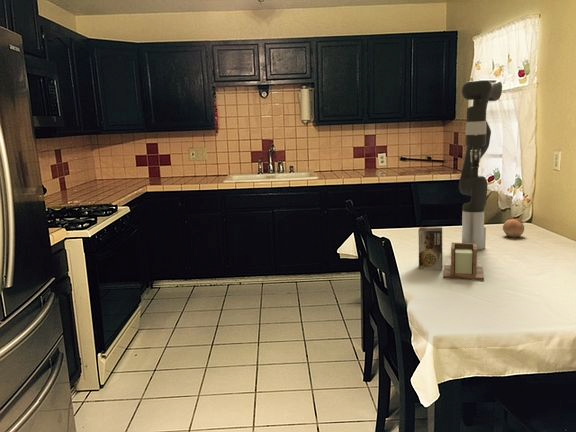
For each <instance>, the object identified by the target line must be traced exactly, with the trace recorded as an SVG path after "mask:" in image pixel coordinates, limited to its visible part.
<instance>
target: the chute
mask: <svg viewBox="0 0 576 432" xmlns="http://www.w3.org/2000/svg"><path fill="white" fill-rule="evenodd" d="M455 249H472V274H462V273H455ZM477 260H478V250H477V245H476V243H462V242H451V244H450V265H444V267H443V268H444V269H443V279H448V280H465V281H467V280H468V281H485V275H484V269H483V266H478V265H477V263H478V261H477Z"/></svg>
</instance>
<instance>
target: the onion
mask: <svg viewBox="0 0 576 432" xmlns="http://www.w3.org/2000/svg"><path fill="white" fill-rule="evenodd" d="M502 225H503V226H502V230H503V232H504V234H505V235H506V236H507V238H518V237H521V236H522V235H523V234H524V231H525V225H524V222H523V221H522V220H521V219H520V218H512V219H511V218H510V219H507V220H506V221H505V222H504V223H503V224H502Z"/></svg>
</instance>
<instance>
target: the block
mask: <svg viewBox="0 0 576 432" xmlns="http://www.w3.org/2000/svg"><path fill="white" fill-rule="evenodd" d="M455 273H462V274H472V249H455Z"/></svg>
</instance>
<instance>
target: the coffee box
mask: <svg viewBox="0 0 576 432" xmlns="http://www.w3.org/2000/svg"><path fill="white" fill-rule="evenodd" d="M417 231H418V233H417V234H418V270H426V271H427V270H428V271H429V270H430V271H431V270H432V271H443V268H444V267H443V227H441V226H440V227H439V226H433V227H432V226H431V227H430V226H420V227H419V228H418V230H417Z"/></svg>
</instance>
